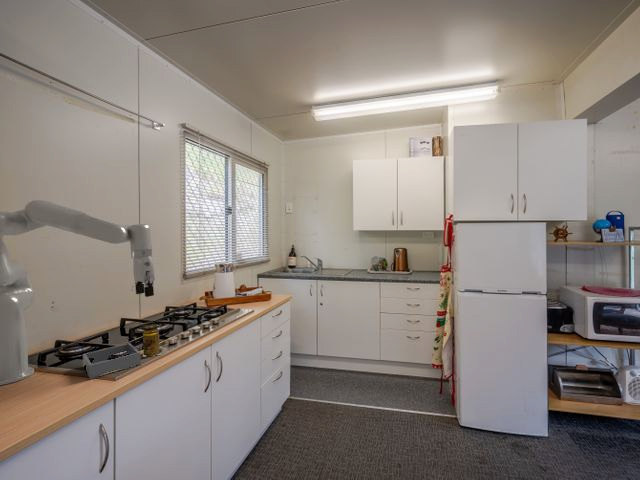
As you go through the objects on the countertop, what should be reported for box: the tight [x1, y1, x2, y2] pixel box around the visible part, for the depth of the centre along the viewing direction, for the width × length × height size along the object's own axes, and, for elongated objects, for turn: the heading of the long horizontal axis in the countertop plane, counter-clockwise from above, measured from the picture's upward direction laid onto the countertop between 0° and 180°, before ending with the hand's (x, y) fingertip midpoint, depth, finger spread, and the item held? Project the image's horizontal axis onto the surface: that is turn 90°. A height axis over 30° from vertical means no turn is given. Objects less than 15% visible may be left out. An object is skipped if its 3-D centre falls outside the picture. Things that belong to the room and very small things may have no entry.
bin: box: [82, 342, 142, 380], centre depth 120 cm, size 16×15×5 cm
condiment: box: [142, 324, 163, 357], centre depth 132 cm, size 7×8×12 cm
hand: (144, 294), depth 129 cm, fingers open, 9 cm apart
